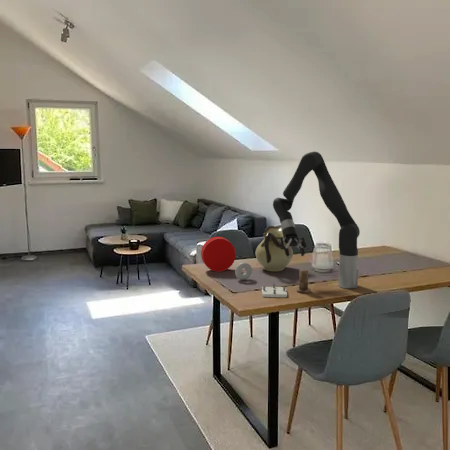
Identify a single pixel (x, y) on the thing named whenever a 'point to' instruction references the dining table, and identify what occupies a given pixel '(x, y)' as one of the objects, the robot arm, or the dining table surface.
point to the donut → (247, 273)
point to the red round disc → (218, 254)
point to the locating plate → (274, 291)
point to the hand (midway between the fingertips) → (295, 255)
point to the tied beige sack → (273, 250)
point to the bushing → (303, 282)
